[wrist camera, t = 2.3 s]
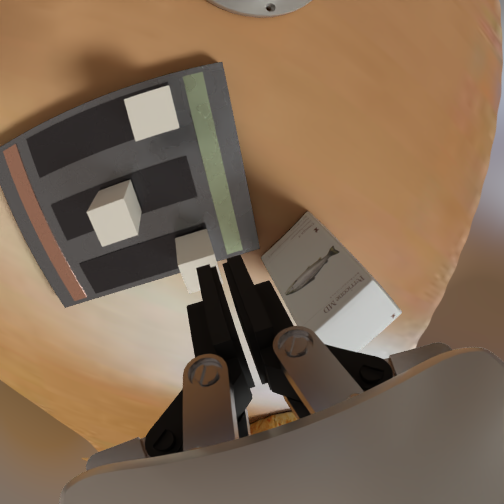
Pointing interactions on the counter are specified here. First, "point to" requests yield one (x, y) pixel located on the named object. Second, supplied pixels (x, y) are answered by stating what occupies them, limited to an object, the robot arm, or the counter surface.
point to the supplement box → (328, 287)
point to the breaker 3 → (194, 257)
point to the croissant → (272, 422)
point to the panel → (143, 180)
